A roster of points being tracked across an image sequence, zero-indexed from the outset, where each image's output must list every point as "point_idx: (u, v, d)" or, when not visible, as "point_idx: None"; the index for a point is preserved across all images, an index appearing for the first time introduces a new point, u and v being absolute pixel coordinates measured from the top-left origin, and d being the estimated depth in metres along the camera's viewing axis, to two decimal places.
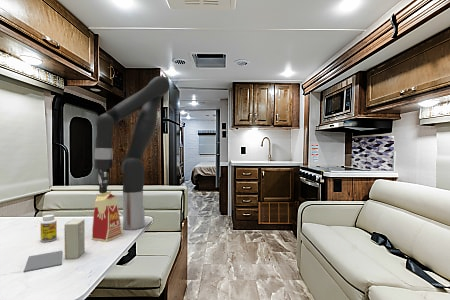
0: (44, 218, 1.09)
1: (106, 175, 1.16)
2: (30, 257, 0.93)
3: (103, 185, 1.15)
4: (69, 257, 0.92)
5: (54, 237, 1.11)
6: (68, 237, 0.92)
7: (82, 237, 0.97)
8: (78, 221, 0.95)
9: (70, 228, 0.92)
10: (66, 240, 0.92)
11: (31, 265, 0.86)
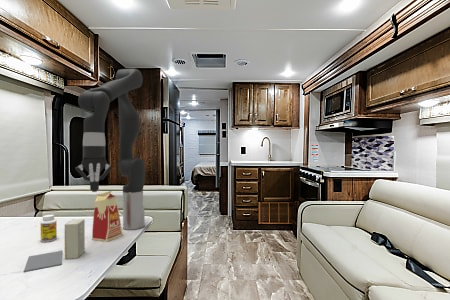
0: (44, 218, 1.09)
1: None
2: (30, 257, 0.93)
3: (103, 178, 1.01)
4: (69, 257, 0.92)
5: (54, 237, 1.11)
6: (68, 237, 0.92)
7: (82, 237, 0.97)
8: (78, 221, 0.95)
9: (70, 228, 0.92)
10: (66, 240, 0.92)
11: (31, 265, 0.86)
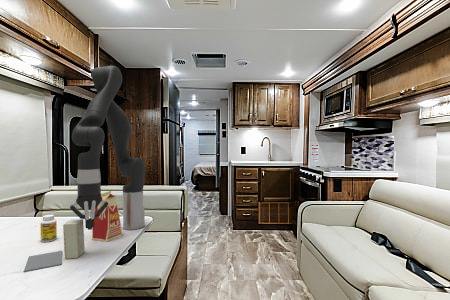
0: (44, 218, 1.09)
1: None
2: (30, 257, 0.93)
3: None
4: (69, 257, 0.92)
5: (54, 237, 1.11)
6: (67, 237, 0.92)
7: (81, 236, 0.96)
8: (77, 221, 0.95)
9: (69, 228, 0.92)
10: (65, 240, 0.92)
11: (31, 265, 0.86)
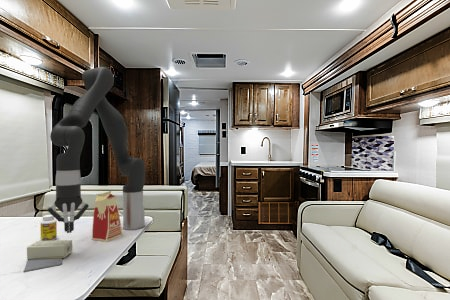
0: (44, 218, 1.09)
1: None
2: None
3: None
4: (63, 252, 0.92)
5: (54, 237, 1.11)
6: (41, 255, 0.91)
7: (52, 242, 0.96)
8: None
9: (31, 253, 0.91)
10: (44, 256, 0.92)
11: (31, 265, 0.86)
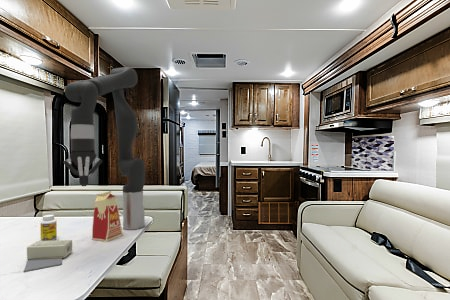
0: (44, 218, 1.09)
1: None
2: None
3: (93, 172, 0.98)
4: (63, 252, 0.92)
5: (54, 237, 1.11)
6: (41, 255, 0.91)
7: (52, 242, 0.96)
8: None
9: (31, 253, 0.91)
10: (44, 256, 0.92)
11: (31, 265, 0.86)
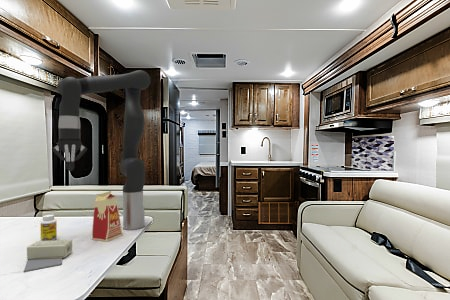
0: (44, 218, 1.09)
1: None
2: None
3: (79, 158, 1.09)
4: (63, 252, 0.92)
5: (54, 237, 1.11)
6: (41, 255, 0.91)
7: (52, 242, 0.96)
8: None
9: (31, 253, 0.91)
10: (44, 256, 0.92)
11: (31, 265, 0.86)
